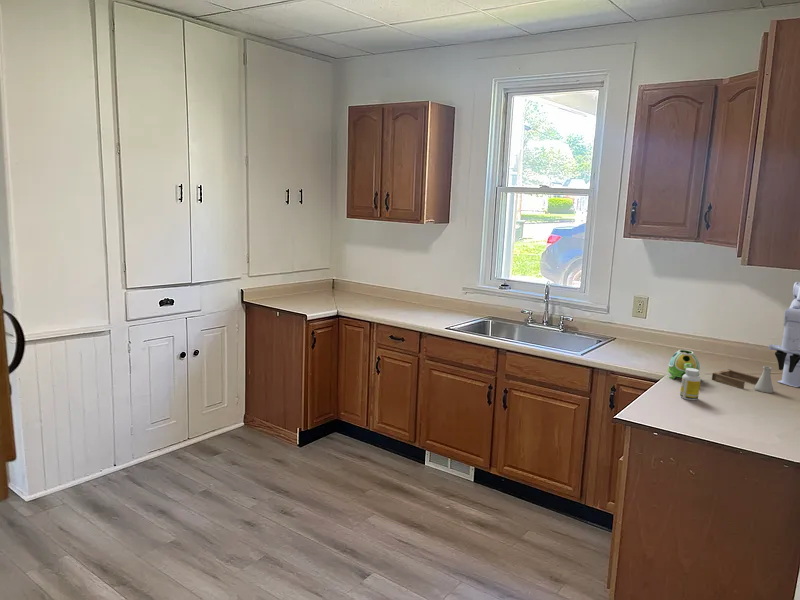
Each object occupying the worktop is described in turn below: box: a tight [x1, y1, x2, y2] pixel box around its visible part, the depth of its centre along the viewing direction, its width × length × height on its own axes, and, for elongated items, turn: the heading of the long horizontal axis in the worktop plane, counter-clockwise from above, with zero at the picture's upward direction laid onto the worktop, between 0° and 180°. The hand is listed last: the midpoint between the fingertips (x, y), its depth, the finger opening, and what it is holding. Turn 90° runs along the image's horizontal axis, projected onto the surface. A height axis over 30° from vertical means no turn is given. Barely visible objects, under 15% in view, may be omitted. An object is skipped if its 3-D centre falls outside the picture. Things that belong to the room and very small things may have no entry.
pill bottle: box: [679, 368, 701, 401], centre depth 231 cm, size 6×6×12 cm
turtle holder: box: [667, 349, 701, 380], centre depth 255 cm, size 12×18×12 cm
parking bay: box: [711, 368, 760, 390], centre depth 255 cm, size 13×13×3 cm
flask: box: [753, 365, 775, 394], centre depth 244 cm, size 7×7×10 cm
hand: (785, 370), depth 238 cm, fingers open, 3 cm apart
